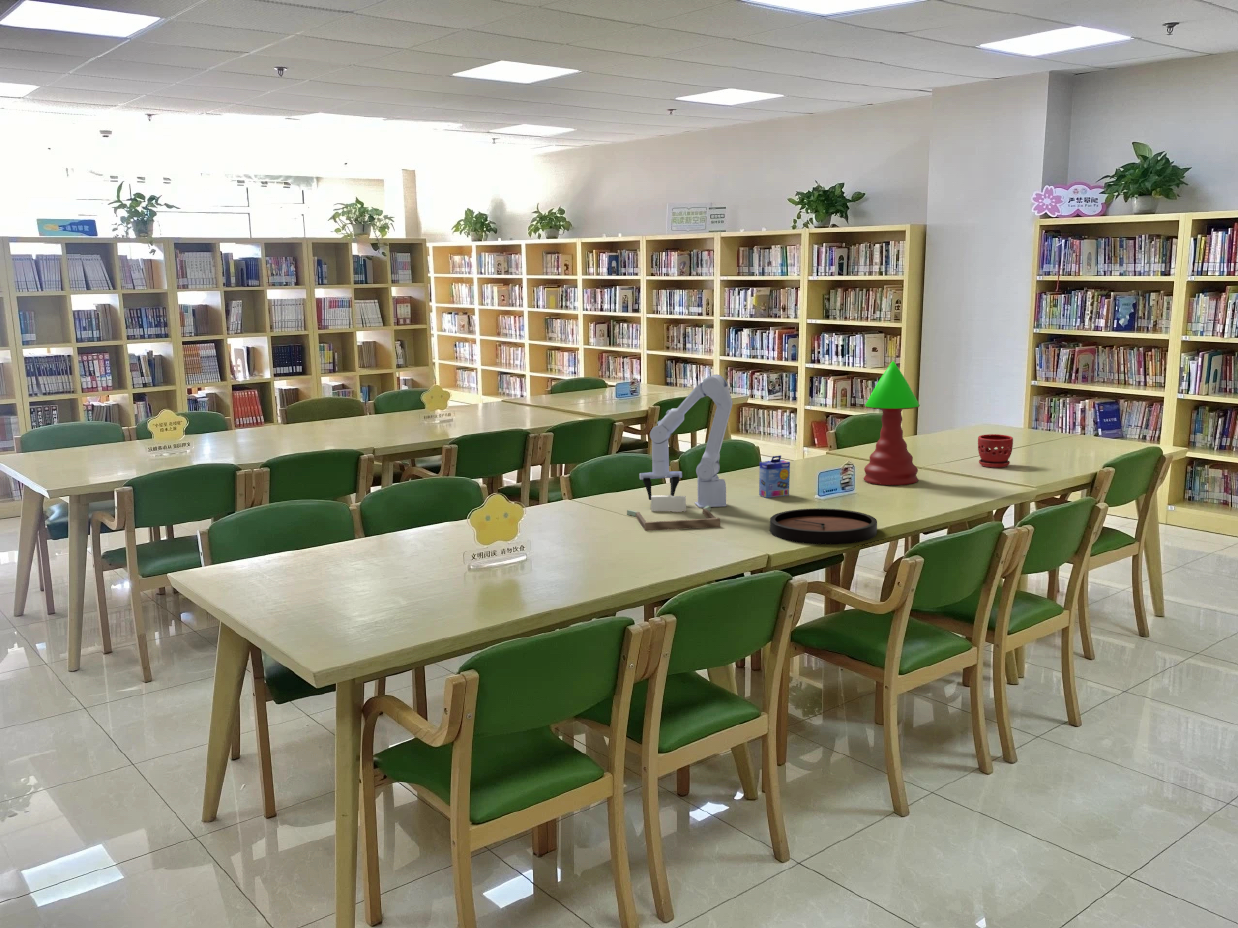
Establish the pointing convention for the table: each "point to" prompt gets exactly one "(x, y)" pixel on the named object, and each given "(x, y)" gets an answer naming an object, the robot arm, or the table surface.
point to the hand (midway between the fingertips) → (661, 499)
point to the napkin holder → (668, 503)
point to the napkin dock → (678, 522)
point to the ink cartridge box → (774, 478)
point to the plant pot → (995, 450)
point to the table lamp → (891, 431)
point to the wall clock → (823, 526)
